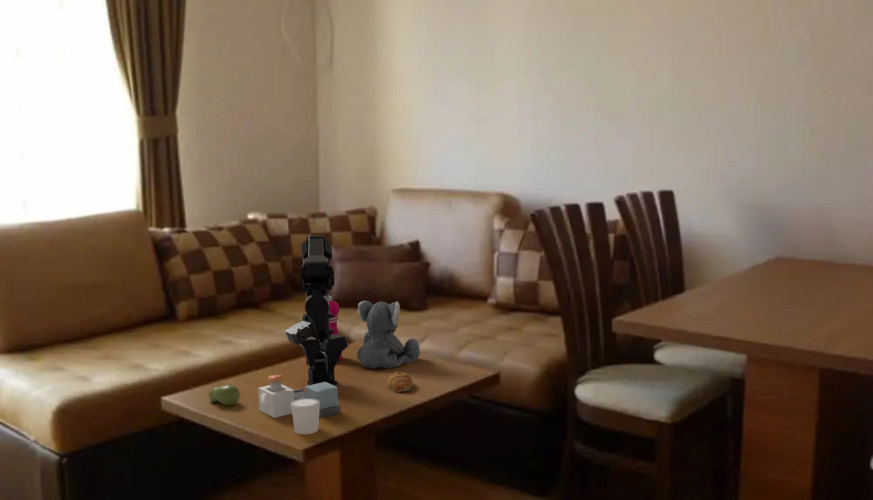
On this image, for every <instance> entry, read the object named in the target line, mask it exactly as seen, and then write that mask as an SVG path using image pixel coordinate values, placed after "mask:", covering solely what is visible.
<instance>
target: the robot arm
mask: <svg viewBox="0 0 873 500" xmlns="http://www.w3.org/2000/svg"><path fill="white" fill-rule="evenodd" d="M332 244H333V243H332V241H330V240H328V239H326V235H323V234H322V235H320V234H319V235H318V234H317V235H308V236H306V240H304V241H303V242H302V243H301V245H300V246H301V260H302V262H303V265H301V266H300V292H305V303H304V310H305V313H304V314H303V315H302V317H301V318H302V320H301V321H299V322H297V323H296V324H294V325H292V326H290V327H289V328H287V329H286V330H285V335H286V337H287V340H288V342H289V343H290V344H294V345H295V346H298V345H299V346H301V348H302V351H303V353H304V356H305V360H306V366H308V367H309V368H308V370H307V372H308V373H307V375H308V378H307V379H308V380H307V381H306V383H307V384H309V385H313V384H318V383H322V382H327V383H329V384H331V385H337V384H338V383H339V382H338V381H337V380H335V368H336V366H337V363H339V361H340V360H339V357H340V355H341V353H342V354H343V351H345V350H346V349H347V348H348V347H349V339H348V338H346V336H345V335H341V334H339V335H338V334H336V335H332V334H334V333H333V330H332V329H330V318H333V314H331V313H329V296H330V294H329V293H330V292H329V291H332V290H333V287H334V286H335V270H334V267H333V265H332V264H331V261H333V245H332Z"/></svg>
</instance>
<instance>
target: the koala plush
mask: <svg viewBox="0 0 873 500" xmlns="http://www.w3.org/2000/svg"><path fill="white" fill-rule="evenodd" d="M357 308H358V309H357V311H356V312H357V316H358V318H359V319H360V320H361V321H362V322H364V323H366V327H367V332H365V333H364V337H363V345H362V346H361V347H359V348H358V350H357V354H356V357H357V359H358V360H359V362H360V363H361V366H362V367H363V368H367V369H374V370H375V369H379V368H385V369H390V368H391V369H392V368H397V367H400V366H401V365H405V364H409V363H412V362H415V361H416V360H418V358H419V356H420V346H419V340H418V339H416V338H414V337H413V338H409V339H407V341H406V342H405V343H404V345H403V343H402V342H401V341H400V339H399V338H398V337H397V336H396V335H395V332H396V330H397V328H398V324H399V321H400V312H401V306H400V302H398V301H395V302H392V303H389V302H386V301H378V302H376V303H374V304H373V303H372V302H371V301H368V300H362V301H360V302H358V304H357Z"/></svg>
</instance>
